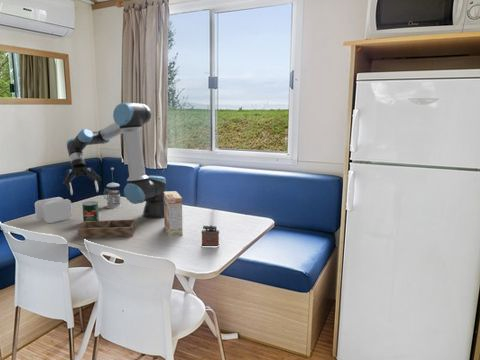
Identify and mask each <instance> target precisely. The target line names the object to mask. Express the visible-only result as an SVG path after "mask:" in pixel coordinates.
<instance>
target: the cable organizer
mask: <svg viewBox="0 0 480 360" xmlns="http://www.w3.org/2000/svg"><path fill="white" fill-rule="evenodd" d="M34 210H35V211H34V212H35V213H34V214H35V219H36V220H38V221H44V222H45V223H47V224H54V223H55V224H56V223H57V222H60V221H62V222H63V221H68V220H70V218H72V216H73V214H72V213H73V212H72V201H71V200H70V199H68V198H66V199H64V198H63V197H60V196H57V197H51V198H50V197H49V198H44V199H39V200H37V201H35V202H34Z"/></svg>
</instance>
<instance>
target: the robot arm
mask: <svg viewBox="0 0 480 360" xmlns="http://www.w3.org/2000/svg"><path fill="white" fill-rule="evenodd" d="M112 114H113V115H112V118H113V121H114V122H112V123H111V124H109V125H108V126H106V127H103V128H102V129H100V130H99V131H92V130H90V129H87V128H83V129H81V130H80V131H79V132H78V133H77V135H76V136H75V138H70V139H68V140H67V141H66V149H67V152H68V157H69V161H70V163H71V164H70V166H71V169H70V168H66V173H65V174H64V175H65V176H64V177H63V181H62V185H66V189H67V190H69V192H70V195H71V196H73V194H74V191H73V187H72V181H73V180H74V179H75V178H77V177H80V176H82V177H84V176H85V177H88V178H89V179H90V180H91V181H94V185H95V190H96V193H98V192H99V187H100V182H101V181H102V177H101V176H100V175H99V174H98V173H97V172H96V171H95V169H94V168H93V167H92V166H90V167H87V165H86V161H85V157H84V154H83V153H84V152H83V150H84V149H85V148H86V147H87V146H91V145H103V144H108V143H110V141H111V140H112V139H113V138H116V137H118V136H120V135H121V134H123V141H124V146H125V154H126V161H127V167H128V168H127V169H128V174H129V175H128V178H127V179H126V182H127V184H126V185H125V186H124V189H123V194H124V197H125V199H126V200H127V201H129V203H131V204H135V205H137V204H143V203H144V202H145V204H144V208H143V211H142V213H143V214H142V215H143V217H146V218H151V219H154V218H155V219H159V218H164V192H167V181H166V177H164V176H161V175H147V174H146V168H145V160H144V153H143V145H142V139H141V138H142V137H141V131H142V129H143V125H146V124H147V123H148V122H149V121H150V120H151V119H152V118H151V117H152V111H151V109H150V107H149V106H148V105H146V104H144V103H141V102H121V103H119V104H117V105H116V106H115V108H114V110H113V113H112ZM71 173H72V175H70V174H71ZM69 176H70V177H69Z"/></svg>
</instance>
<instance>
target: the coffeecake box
mask: <svg viewBox="0 0 480 360" xmlns="http://www.w3.org/2000/svg"><path fill="white" fill-rule="evenodd" d="M163 219H164V222H163V223H164V224H163V225H164V229H165V231H166V234H167V235H168V237H169V236H170V237H177V235H179V236H183V197H182V196H181V195H180V194H179V193H178V191H175V190H173V191H172V190H171V191H167V190H166V192H164V217H163Z"/></svg>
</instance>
